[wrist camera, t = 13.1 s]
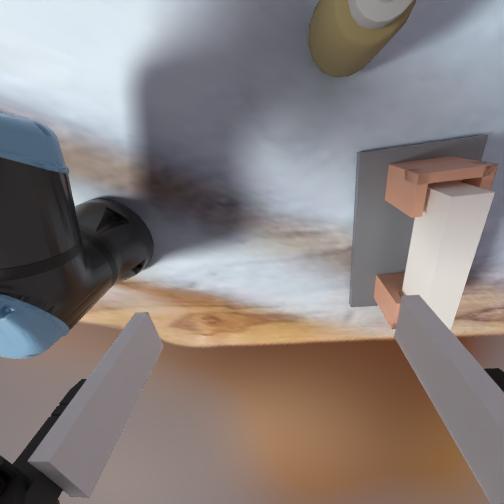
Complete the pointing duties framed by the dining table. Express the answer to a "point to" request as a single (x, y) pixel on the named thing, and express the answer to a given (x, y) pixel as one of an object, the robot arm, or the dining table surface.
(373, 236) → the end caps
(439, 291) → the slat
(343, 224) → the dining table surface
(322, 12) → the squeeze bottle
